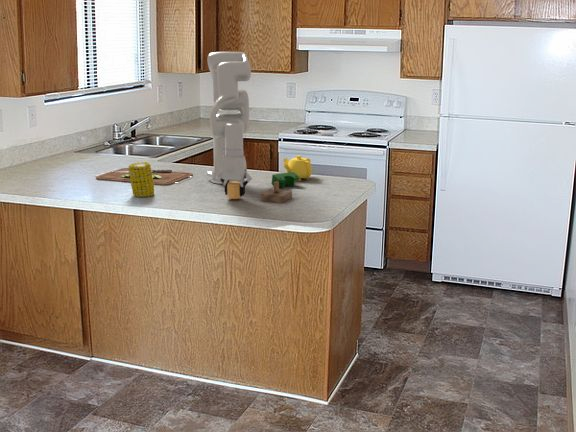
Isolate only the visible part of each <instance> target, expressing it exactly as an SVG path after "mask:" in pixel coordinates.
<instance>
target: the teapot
mask: <svg viewBox="0 0 576 432" xmlns="http://www.w3.org/2000/svg"><path fill="white" fill-rule="evenodd" d="M283 162H284V163H283V164H282V166H283V167H284V168H285V173H289V172H294V173H295V174H297V175H298V176H299V180H297V182H301V181H302V179H304V180H310V176H312V174H313V169H312V164H311V162H312V161H311V159H310V158H308V157H303V156H302V155H296V157H292V158H291V159H290V160H289V159H288V158H287V157H286V158H284V159H283Z"/></svg>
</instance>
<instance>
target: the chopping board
mask: <svg viewBox="0 0 576 432" xmlns="http://www.w3.org/2000/svg"><path fill="white" fill-rule="evenodd" d="M151 171H152V178H153V183H154V186H163V187H166V186H167V187H168V186H172V185H174V184H177V185H179V184H181V183H184V182H187V181H189V180H191V179H194V178H195V176H193V175H194V174H193V172H192V173H191V172H185V171H182V172H181V171H173V170H172V169H151ZM94 177H95V179H96V180H98V181H108V182H119V183H129V184H131V181H130V173H129V167H122V168H119V169H112V170H108V171H106V172H104V173H100V174H97V175H95V176H94Z"/></svg>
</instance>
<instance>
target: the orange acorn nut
mask: <svg viewBox="0 0 576 432" xmlns="http://www.w3.org/2000/svg"><path fill="white" fill-rule="evenodd" d="M240 187H241V185H240V182H239V181H237V182H236V181H234V182H228V183H227V195H226V197H227V198H228V199H232V200H237V199H242V198H243V197H244V195H243V196H240Z"/></svg>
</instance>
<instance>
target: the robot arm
mask: <svg viewBox="0 0 576 432" xmlns="http://www.w3.org/2000/svg"><path fill="white" fill-rule="evenodd" d="M207 66H208V67H207V68H208V70H209V72H210V75H211V77H212V84H213V85H212V89H213V94H212V95H213V105H212V107H211V109H210V114H209V120H210V121H209V123H210V124H209V125H210V131H211V135H212V140H213V141H212V142H213V144H212V145H213V146H212V147H213V149H212V150H213V171H207V172H206V176H207V177H211V178H210V182H211V183H214V184H216V185H217V184H218V185H223V186H224V192H225V194H224V195H226V196H227V183H228V182H234V181H236V182H240V185H241V187H240V196H243V197H244V195H246V186H247V185H248V183H250V182H251V181H252V179H253V178H252V176H251V175H250V174H249V173H248V169H247V168H248V167H247V162H246V156H245V155H244V134H247V133H248V132H249V129H250V102H249V101H250V100H249V99H250V98H249V93H248V92H247V90H245V89H242V88H241V89H239V84H238V83H239V82H249V81H250V79H251V76H252V69H251V64H250V61H249V59H248V56H247V53H246V52H243V51H216V52H215V51H214V52H210V53H209V54H208V55H207ZM218 111H229V112H226V113H224V112H223V113H218ZM230 111H238V112H235V113H233V112H231V113H230ZM245 179H246V180H245Z"/></svg>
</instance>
